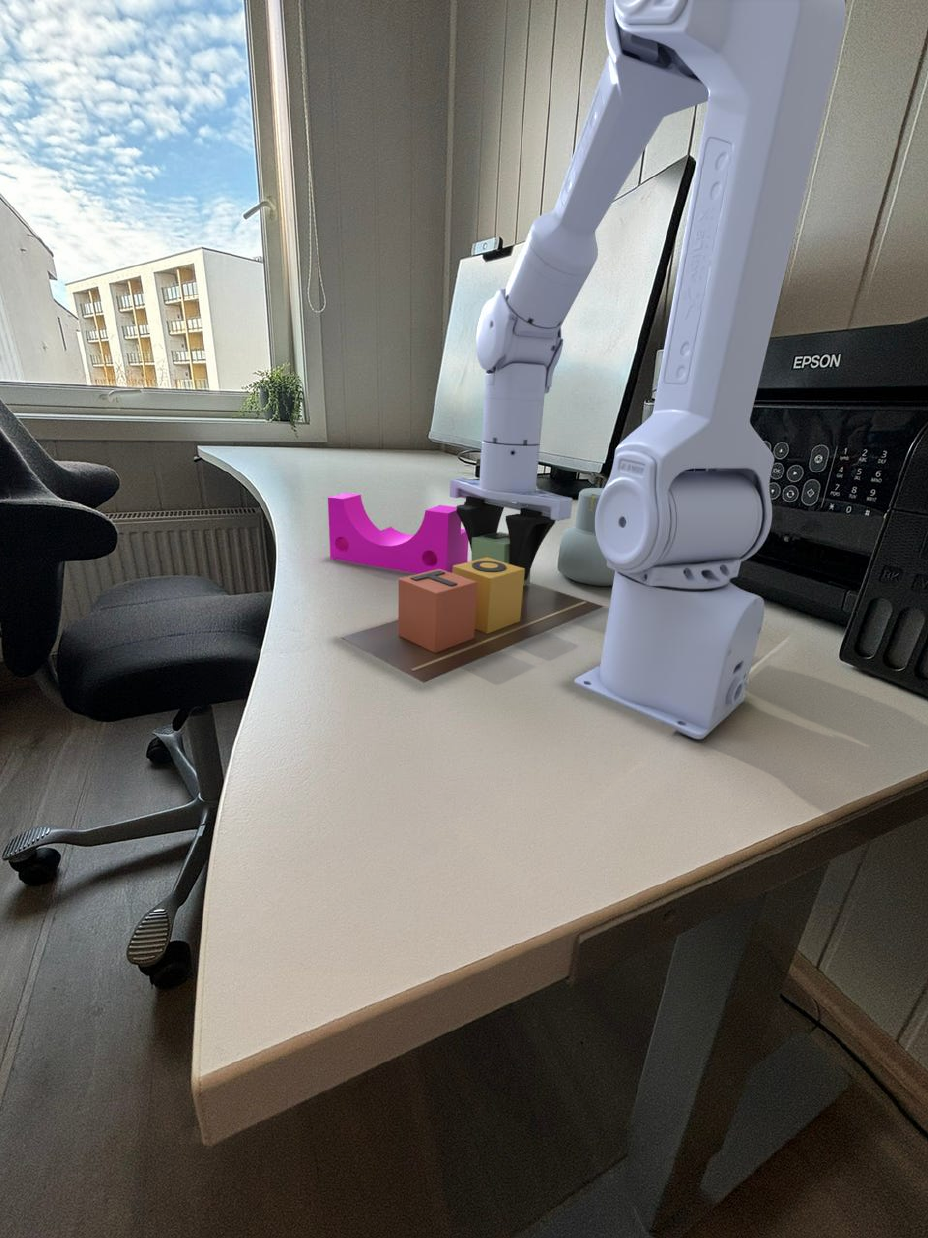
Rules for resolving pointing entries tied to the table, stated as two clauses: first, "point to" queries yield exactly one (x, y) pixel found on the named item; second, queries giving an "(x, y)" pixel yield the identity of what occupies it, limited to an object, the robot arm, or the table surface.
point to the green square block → (493, 548)
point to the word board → (536, 617)
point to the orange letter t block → (437, 609)
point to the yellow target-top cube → (494, 592)
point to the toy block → (395, 538)
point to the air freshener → (584, 545)
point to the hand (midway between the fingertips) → (500, 574)
